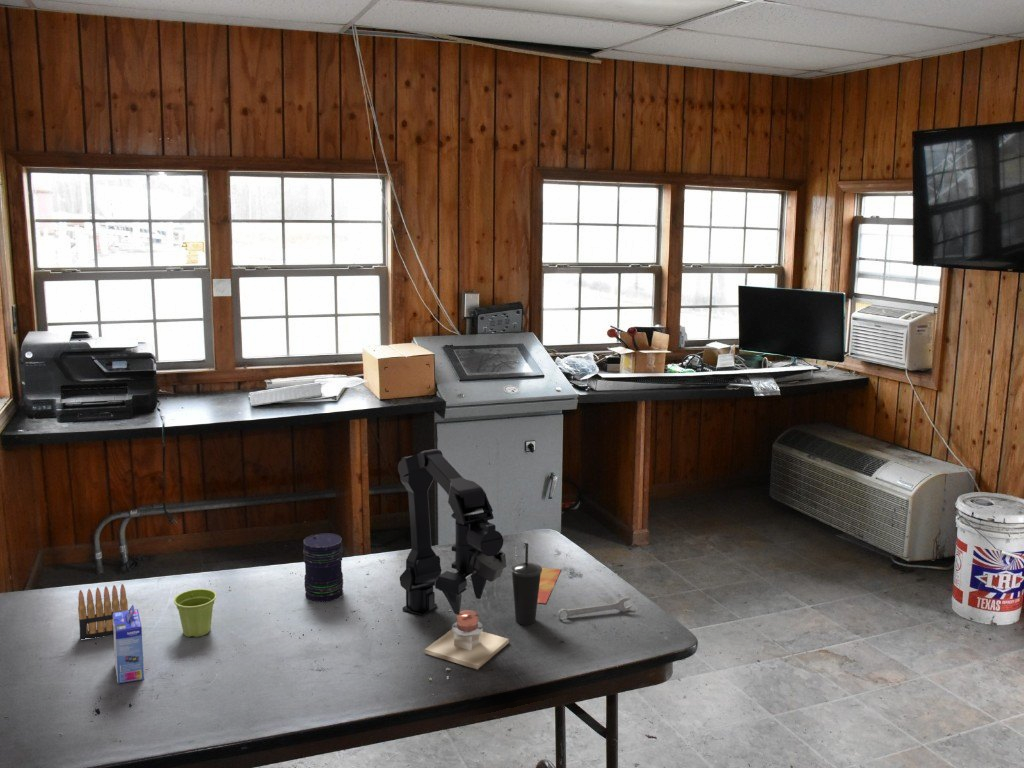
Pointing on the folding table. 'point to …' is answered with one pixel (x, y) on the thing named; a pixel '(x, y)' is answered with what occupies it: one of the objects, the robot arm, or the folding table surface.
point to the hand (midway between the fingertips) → (467, 606)
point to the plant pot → (195, 611)
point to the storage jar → (323, 567)
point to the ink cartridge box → (128, 646)
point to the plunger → (467, 624)
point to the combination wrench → (596, 608)
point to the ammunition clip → (100, 612)
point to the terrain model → (547, 583)
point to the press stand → (467, 648)
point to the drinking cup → (526, 589)
